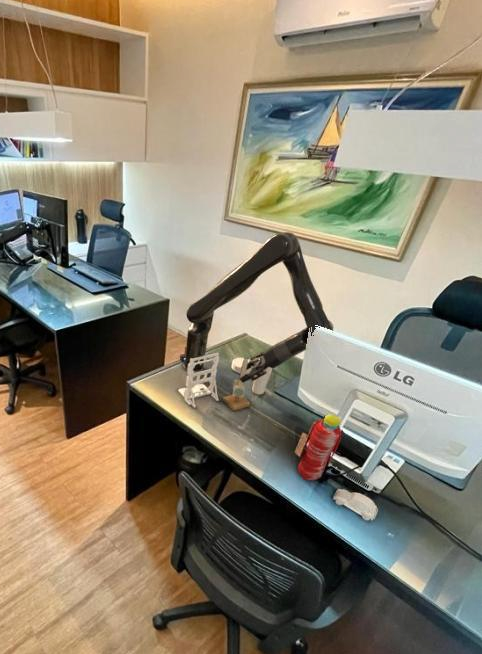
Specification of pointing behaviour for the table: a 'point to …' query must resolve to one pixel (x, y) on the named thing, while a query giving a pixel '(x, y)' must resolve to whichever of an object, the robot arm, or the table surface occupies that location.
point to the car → (357, 503)
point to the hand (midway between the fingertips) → (241, 374)
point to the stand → (236, 399)
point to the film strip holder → (196, 390)
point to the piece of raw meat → (318, 447)
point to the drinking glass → (261, 382)
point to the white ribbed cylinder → (239, 365)
